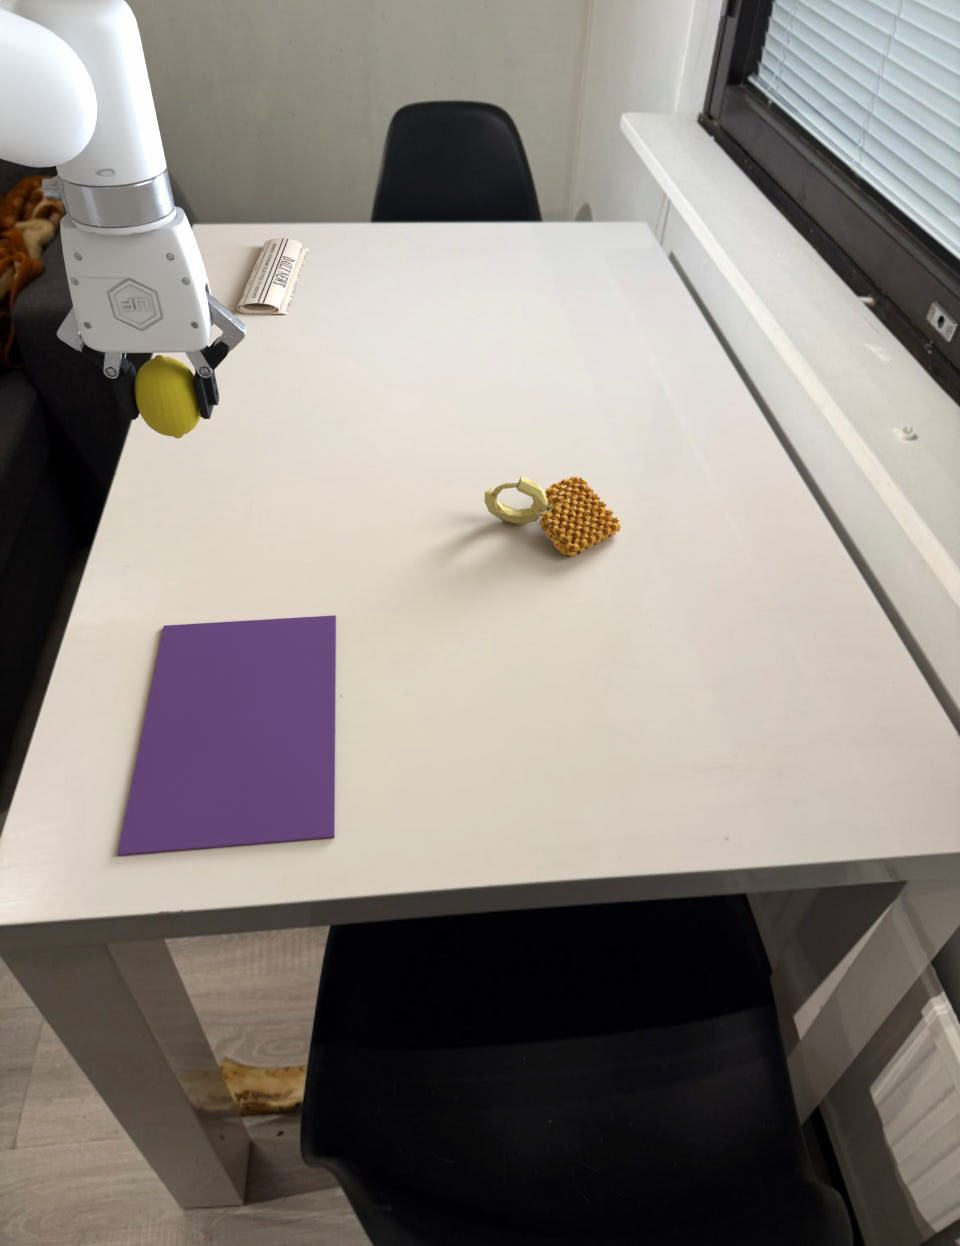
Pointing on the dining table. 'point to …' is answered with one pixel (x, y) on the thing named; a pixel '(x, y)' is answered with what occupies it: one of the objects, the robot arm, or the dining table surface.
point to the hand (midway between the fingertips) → (172, 409)
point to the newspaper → (274, 278)
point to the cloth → (236, 738)
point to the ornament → (560, 512)
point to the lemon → (167, 396)
